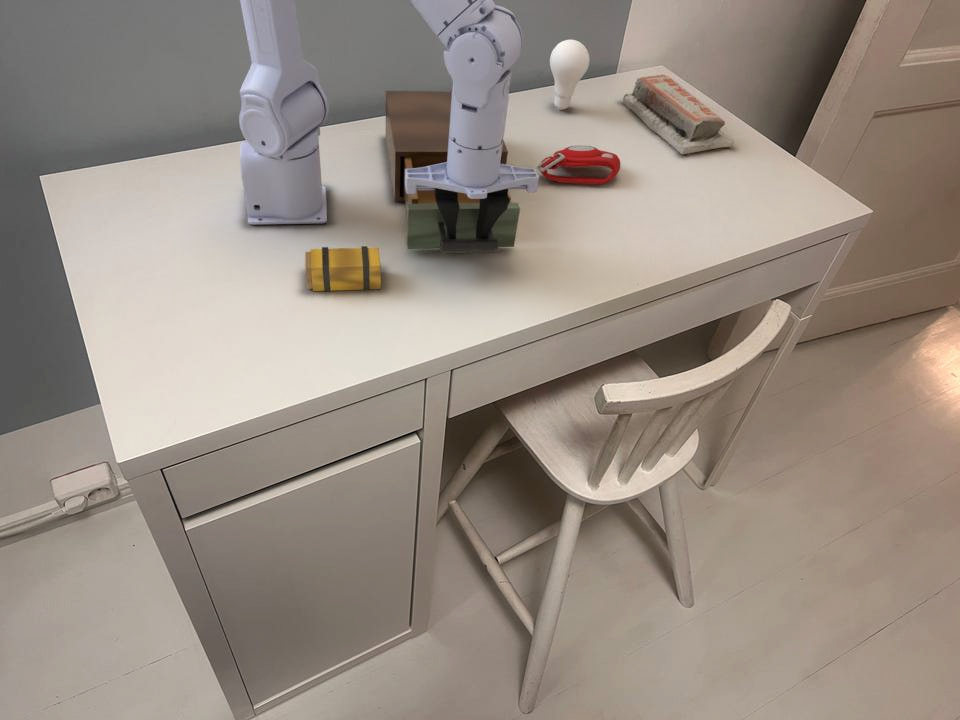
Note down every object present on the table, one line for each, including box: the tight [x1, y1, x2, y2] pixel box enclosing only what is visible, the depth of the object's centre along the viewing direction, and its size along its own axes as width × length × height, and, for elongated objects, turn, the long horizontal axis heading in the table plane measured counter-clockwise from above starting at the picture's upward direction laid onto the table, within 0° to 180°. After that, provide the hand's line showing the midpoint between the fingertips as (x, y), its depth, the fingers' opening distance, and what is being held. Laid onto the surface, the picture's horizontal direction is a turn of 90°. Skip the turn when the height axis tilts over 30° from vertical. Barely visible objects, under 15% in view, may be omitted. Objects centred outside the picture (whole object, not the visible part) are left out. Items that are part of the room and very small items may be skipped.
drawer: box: [401, 156, 521, 254], centre depth 90 cm, size 20×13×6 cm, turn 10°
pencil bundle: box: [304, 245, 382, 292], centre depth 82 cm, size 8×4×4 cm, turn 100°
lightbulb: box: [549, 39, 590, 111], centre depth 115 cm, size 6×6×11 cm
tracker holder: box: [536, 145, 621, 185], centre depth 103 cm, size 12×4×10 cm
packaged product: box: [622, 74, 735, 155], centre depth 117 cm, size 18×5×10 cm
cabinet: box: [385, 90, 509, 203], centre depth 100 cm, size 16×14×7 cm
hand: (465, 241), depth 85 cm, fingers closed on drawer, 3 cm apart
